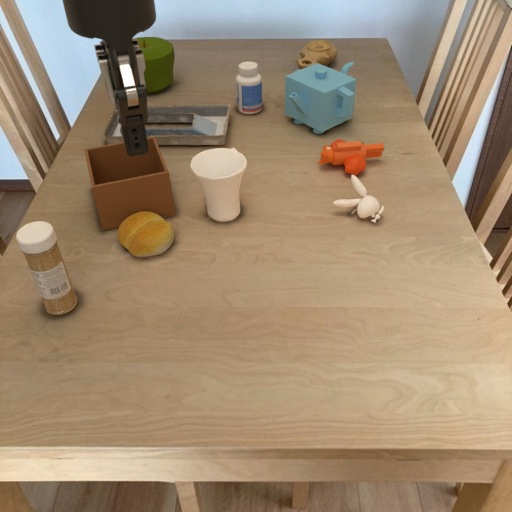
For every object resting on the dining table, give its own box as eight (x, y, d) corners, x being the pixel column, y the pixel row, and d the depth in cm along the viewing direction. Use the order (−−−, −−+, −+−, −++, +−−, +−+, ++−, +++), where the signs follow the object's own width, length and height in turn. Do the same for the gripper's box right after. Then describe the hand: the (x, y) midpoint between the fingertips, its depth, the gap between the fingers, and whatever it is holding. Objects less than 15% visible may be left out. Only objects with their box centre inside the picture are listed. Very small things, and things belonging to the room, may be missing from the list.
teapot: (263, 122, 116) (263, 70, 108) (323, 95, 125) (326, 45, 117) (318, 151, 107) (322, 96, 99) (378, 120, 116) (385, 67, 108)
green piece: (183, 77, 133) (178, 29, 126) (170, 100, 124) (163, 50, 117) (133, 75, 135) (125, 27, 127) (116, 97, 126) (107, 48, 118)
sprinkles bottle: (76, 289, 80) (51, 216, 71) (80, 311, 77) (54, 237, 68) (43, 298, 79) (14, 224, 70) (46, 320, 76) (15, 246, 67)
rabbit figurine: (370, 231, 89) (331, 200, 89) (365, 234, 93) (328, 204, 93) (393, 202, 89) (354, 171, 89) (387, 206, 93) (349, 177, 93)
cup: (260, 205, 94) (259, 154, 88) (227, 235, 89) (223, 183, 82) (218, 189, 98) (214, 139, 91) (184, 216, 92) (178, 165, 86)
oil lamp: (297, 81, 130) (298, 60, 127) (291, 57, 141) (292, 37, 138) (342, 79, 131) (344, 58, 127) (333, 55, 141) (334, 35, 138)
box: (175, 215, 93) (168, 172, 87) (103, 230, 90) (91, 187, 84) (161, 177, 101) (154, 136, 96) (94, 190, 99) (84, 148, 93)
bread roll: (142, 266, 83) (138, 246, 81) (111, 239, 88) (106, 219, 86) (186, 242, 87) (184, 222, 85) (154, 217, 92) (150, 197, 90)
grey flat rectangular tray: (227, 148, 109) (226, 135, 107) (101, 148, 109) (98, 135, 107) (231, 115, 118) (230, 103, 116) (116, 116, 119) (113, 103, 117)
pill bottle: (267, 108, 120) (267, 64, 114) (250, 117, 118) (249, 73, 111) (249, 100, 123) (248, 57, 117) (232, 109, 120) (229, 65, 114)
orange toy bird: (381, 129, 101) (317, 135, 100) (392, 161, 98) (326, 168, 96) (375, 147, 106) (313, 154, 104) (385, 179, 102) (322, 185, 101)
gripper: (50, -49, 49) (93, 127, 60) (60, -5, 40) (108, 194, 51) (135, -57, 51) (161, 116, 62) (164, -17, 41) (188, 178, 53)
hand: (137, 151), depth 57 cm, fingers closed
